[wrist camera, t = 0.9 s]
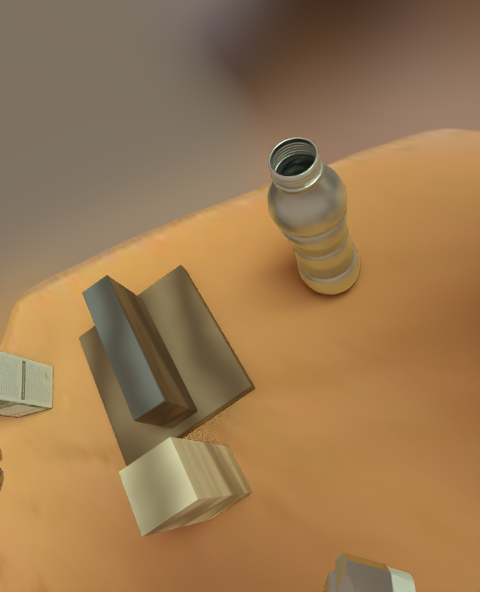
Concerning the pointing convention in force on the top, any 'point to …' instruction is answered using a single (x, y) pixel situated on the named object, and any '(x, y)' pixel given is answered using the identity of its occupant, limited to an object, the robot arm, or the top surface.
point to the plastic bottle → (312, 215)
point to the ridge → (159, 361)
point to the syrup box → (24, 386)
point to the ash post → (182, 484)
